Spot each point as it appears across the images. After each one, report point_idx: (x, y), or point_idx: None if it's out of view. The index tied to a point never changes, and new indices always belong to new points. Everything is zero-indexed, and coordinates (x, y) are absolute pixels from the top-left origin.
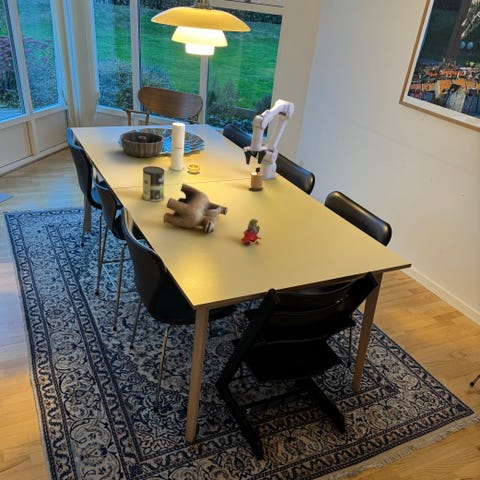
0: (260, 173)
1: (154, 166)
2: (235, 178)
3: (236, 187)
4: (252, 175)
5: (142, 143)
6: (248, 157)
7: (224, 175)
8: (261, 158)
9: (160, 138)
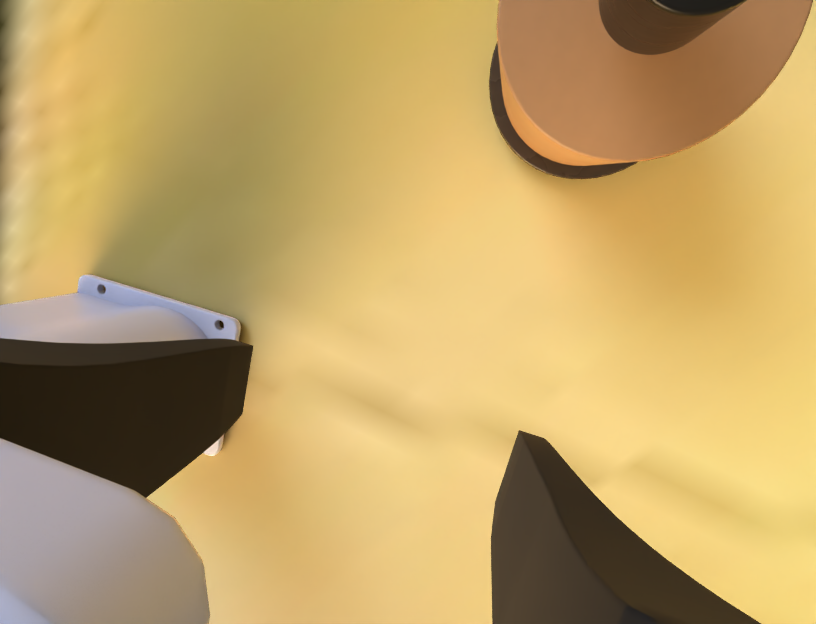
0: (531, 21)
1: None
2: None
3: (786, 265)
4: (792, 30)
5: None
6: (662, 561)
7: None
8: (135, 360)
9: None
